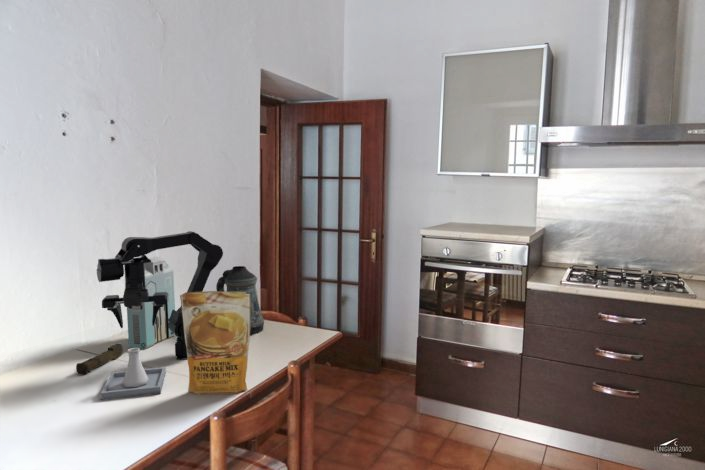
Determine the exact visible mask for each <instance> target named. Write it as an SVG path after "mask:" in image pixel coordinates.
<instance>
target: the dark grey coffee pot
mask: <svg viewBox="0 0 705 470" xmlns="http://www.w3.org/2000/svg"><path fill="white" fill-rule="evenodd" d="M257 282H258V277H257V276H256V275H255V274H254V273H252V272H250V271H249V270H248V269H247V267H246V266H244V265H240V266H239V265H238V266H237V265H236V266H233V267H232V268H231V269H226V270H224V271H223V273H222V276H220V277H219V279H217V283H216V284H215V285H216V286H215V287H216V291H222V292H227V291H246V294H250V295H251V330H250V336H253V335H256V333H257V334H260V333H261V332H263V331H264V324H265V318H264V317H263V315H262V312H261V309H260V304H259V300H258V299H259V298H258V294H257V287H256V284H257ZM225 286H226V291H225ZM262 330H263V331H262ZM252 334H253V335H252Z"/></svg>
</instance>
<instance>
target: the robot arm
mask: <svg viewBox="0 0 705 470" xmlns="http://www.w3.org/2000/svg"><path fill="white" fill-rule="evenodd" d="M187 245H189V246H191V247H192V248H193V249H195V250H196V251H197V252H198V254H197V255H198V256H197V266H196V269H195V272H194V274H193V277H192V279H191V282H190V284H189V287H188V289H187V291H186V292H204V289H205V286H206V284H207V281H208V279H209V278H210V277H209V276H210V274H211V272H213V270H214V269H215V268H216V267H217V266H218V265H219V263H220V261H221V260H222V259H223V256H224V250H223V249H222V247H221V246H220V245H219V244H214V243H211V241H209V240H207V239H206V238H204V237H202V236H201V235H200V234H199V233H197V232H195V231H192V230H191V231H190V230H188V231H186V232H181V233H173V234H167V235H161V236H154V237H145V236H144V237H143V236H142V237H141V236H129V237H126V238H124V239H123V241H122V242H121V246H120V247H121V248H120V249H119V250H118V253H117V254H116V255H115V256H114V258H98V260H97V267H96V276H97V277H96V278H97V281H98V282H99V283H102V282H111V281H112V282H113V281H119V280H120V281H121V278H123V277H124V284H125V287H124V291H123V295H122V297H120V295H119V294H111V295H110V294H107V295H106V296H105V297H103V298H102V300H101V308H102V309H106V310H107V311H110V312H112V313H113V315H114V317H115V318H116V320H117V323H118V324H119V327H120V329H123V328H124V320H123V313H122V305H121V304H123V306H124V307H125V308H127V307H129V306H140V305H141V304H142V302H154V305H153V318H152V325H153V326H154V324H155V320H156V317H157V313H158V310H159V308H160V307H163V306H164V304H167V303H168V301H169V294H168V293H167V292H158V293H155V294H154V296H149V294H148V289H146V287H145V268H144V263H149V262H151V260H150V259H148V258H149V257H148V256H147V255H149V254H150V253H152V252H155V251H157V250H163V249H167V248H175V247H181V246H187ZM168 321H169V324H168V327H169V329H170V331H171V332H173V333H174V334H175V336H174V337H177V338H176V341H175V343H174V355H175V357H176V360H188V358H187V348H186V343H185V336H184V328H183V316H182V309H181V306H179V308H177V309H175V310H172V313H171V316H170V318H169V319H168Z"/></svg>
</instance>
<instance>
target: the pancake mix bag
mask: <svg viewBox="0 0 705 470" xmlns="http://www.w3.org/2000/svg"><path fill="white" fill-rule="evenodd" d="M226 291H227V290H226ZM226 291H225V292H222V291H217V290H214V291H213V290H208V291H206V290H205V291H204V290H203V291H202V292H187V291H186V292H184V293H182V294H180V295H179V297H180V307H181V309H182V316H183V328H184V336H185V343H186V348H187V358H188V359H187V365H188V372H189V376H188V377H189V378H188V388H187V389H188V390H187V392H190V393H194V394H195V395H229V394H232V395H233V394H239V393H241V392H244V391H248V387H247V386H248V385H247V383H246V379H247V371H248V370H247V369H248V360H249V359H248V358H249V357H248V356H249V349H250V348H249V347H250V340H251V339H250V336H251V335H250V330H251V295H250V294H246V291H227V292H226Z"/></svg>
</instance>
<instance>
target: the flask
mask: <svg viewBox="0 0 705 470" xmlns="http://www.w3.org/2000/svg"><path fill="white" fill-rule="evenodd" d="M140 351H141V348H132V347H130V348H129V349H127V353H128V360H127V361H128V364H127V366H126V369H125V371H126V373H125V376H124V379H123V382H122V385H123V386H124V387H126V388H127V387H138V386H141V385H144V384H147V382H148V381H149V379H148V376H147V374H146V372H145V370H144V366H143V364H142V362H141V358H140Z"/></svg>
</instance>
